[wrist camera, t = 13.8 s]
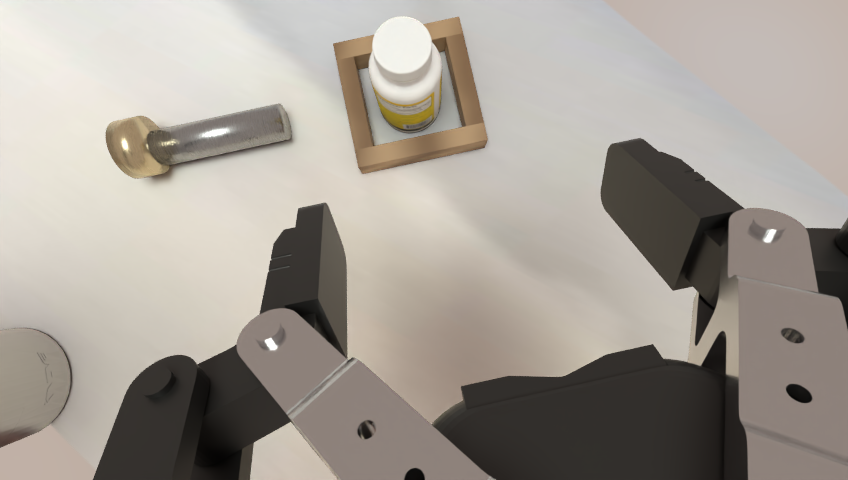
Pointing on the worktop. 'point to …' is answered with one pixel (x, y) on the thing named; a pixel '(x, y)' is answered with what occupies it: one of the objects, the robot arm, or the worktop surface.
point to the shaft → (191, 139)
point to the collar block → (422, 147)
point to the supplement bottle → (406, 74)
